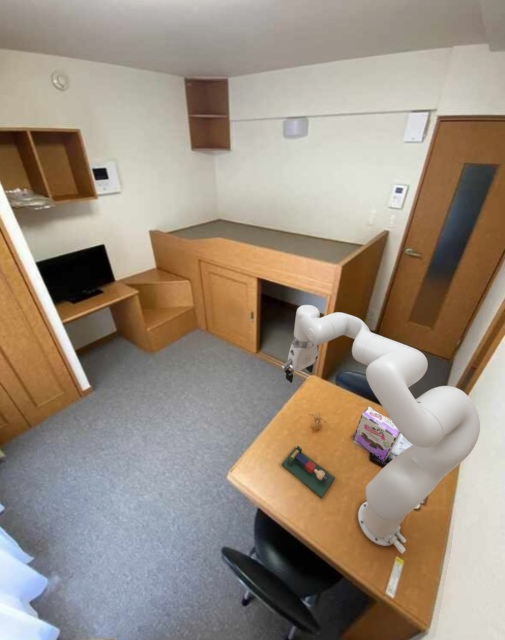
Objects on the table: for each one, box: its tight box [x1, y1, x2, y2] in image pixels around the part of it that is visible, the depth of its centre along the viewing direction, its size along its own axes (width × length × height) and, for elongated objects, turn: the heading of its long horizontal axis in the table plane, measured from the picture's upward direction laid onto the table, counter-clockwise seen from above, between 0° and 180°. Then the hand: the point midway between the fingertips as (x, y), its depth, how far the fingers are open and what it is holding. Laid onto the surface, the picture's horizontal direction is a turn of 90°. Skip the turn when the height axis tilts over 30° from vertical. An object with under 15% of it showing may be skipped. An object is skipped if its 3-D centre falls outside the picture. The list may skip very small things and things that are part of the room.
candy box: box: [352, 405, 401, 463], centre depth 110 cm, size 14×6×16 cm, turn 42°
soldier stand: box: [281, 445, 335, 499], centre depth 104 cm, size 18×9×6 cm, turn 48°
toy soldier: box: [291, 450, 329, 483], centre depth 103 cm, size 14×4×3 cm, turn 48°
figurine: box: [307, 411, 328, 430], centre depth 118 cm, size 8×6×12 cm
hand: (299, 375), depth 106 cm, fingers open, 9 cm apart
